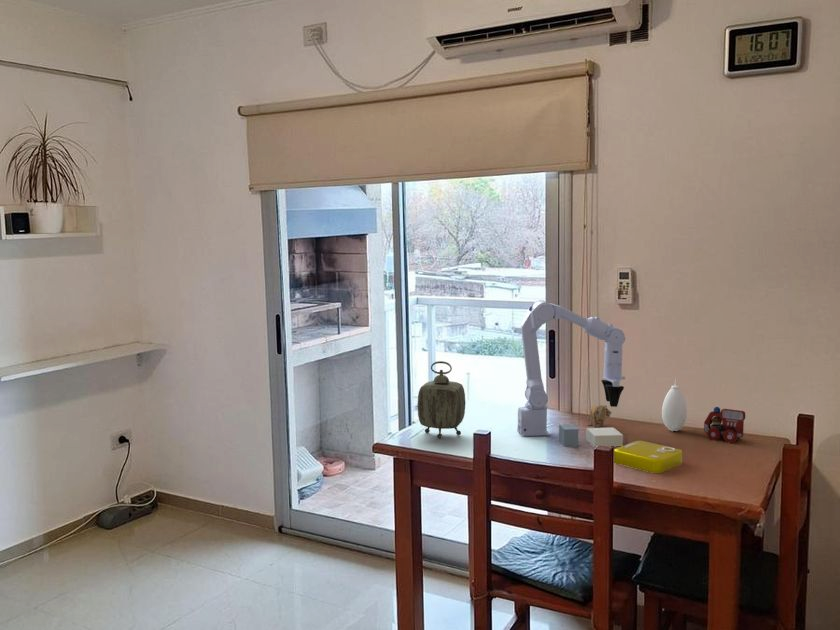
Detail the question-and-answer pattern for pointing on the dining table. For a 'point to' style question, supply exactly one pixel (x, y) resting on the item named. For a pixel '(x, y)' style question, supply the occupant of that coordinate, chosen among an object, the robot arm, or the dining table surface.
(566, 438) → the grey block
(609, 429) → the base block
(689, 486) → the dining table surface
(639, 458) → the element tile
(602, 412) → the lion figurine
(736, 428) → the toy fire truck
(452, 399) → the tabletop clock
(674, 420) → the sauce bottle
